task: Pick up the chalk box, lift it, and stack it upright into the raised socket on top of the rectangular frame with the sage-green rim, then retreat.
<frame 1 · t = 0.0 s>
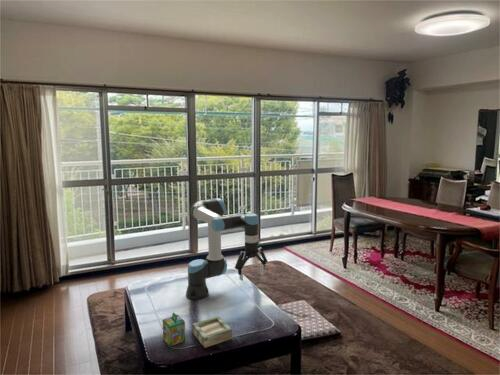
hand: (251, 277, 205), 28 cm above the table, fingers open, 13 cm apart
chalk box: (174, 340, 193), on the table
rectangular frame: (212, 335, 197), on the table
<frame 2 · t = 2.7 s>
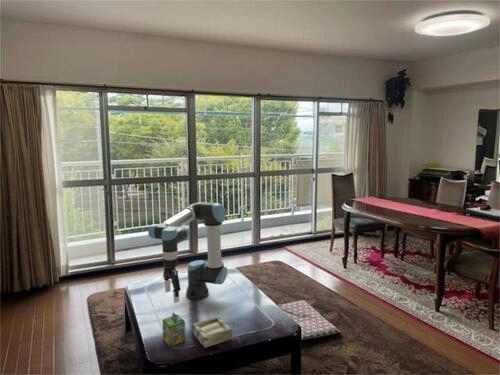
hand: (172, 296, 189), 25 cm above the table, fingers open, 13 cm apart
nothing on the table moved.
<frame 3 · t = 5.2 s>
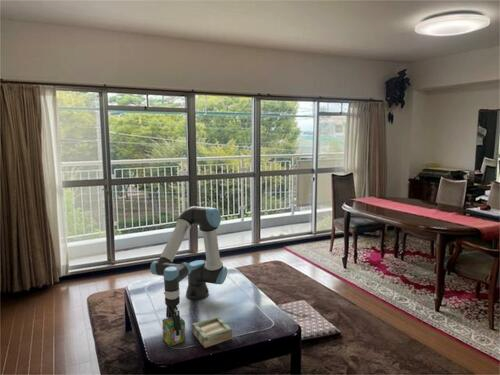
hand: (174, 335, 193), 3 cm above the table, fingers closed on chalk box, 9 cm apart
chalk box: (174, 340, 193), on the table, touching gripper
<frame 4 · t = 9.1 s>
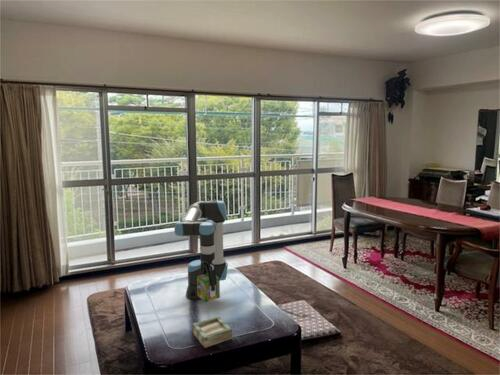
hand: (208, 292, 192), 26 cm above the table, fingers closed on chalk box, 9 cm apart
chalk box: (208, 297, 193), point 23 cm above the table, touching gripper
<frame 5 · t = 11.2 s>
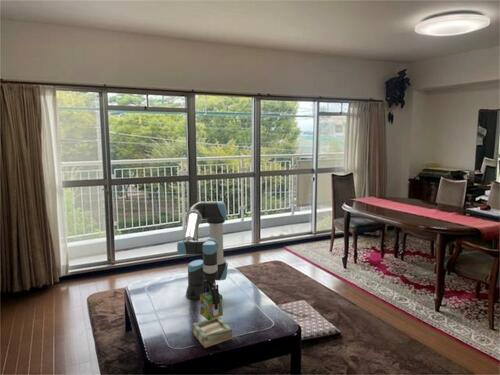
hand: (211, 310, 194), 15 cm above the table, fingers closed on chalk box, 9 cm apart
chalk box: (211, 315, 195), point 12 cm above the table, touching gripper
when the fingers open (8 cm above the table, at t = 13.2 s): chalk box drops 2 cm, resting on rectangular frame.
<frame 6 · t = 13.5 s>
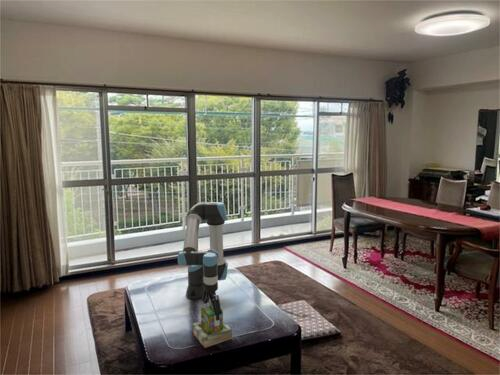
hand: (211, 319, 195), 10 cm above the table, fingers open, 12 cm apart
chalk box: (212, 329, 196), point 4 cm above the table, touching rectangular frame
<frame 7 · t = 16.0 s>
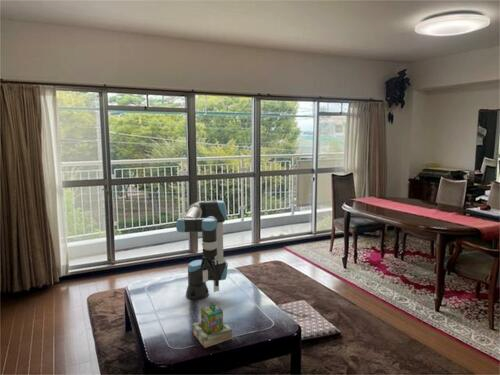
hand: (210, 286, 192), 29 cm above the table, fingers open, 13 cm apart
nothing on the table moved.
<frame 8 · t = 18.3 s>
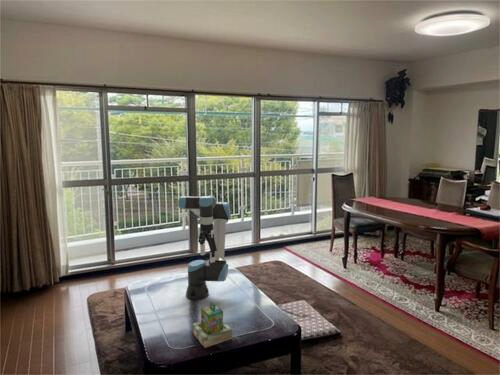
hand: (207, 258, 210), 37 cm above the table, fingers open, 13 cm apart
nothing on the table moved.
at the end: chalk box 0.2 cm off-centre on the rectangular frame, point 3.8 cm above the rectangular frame's base; chalk box tilted 0°; the gripper is holding nothing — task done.
